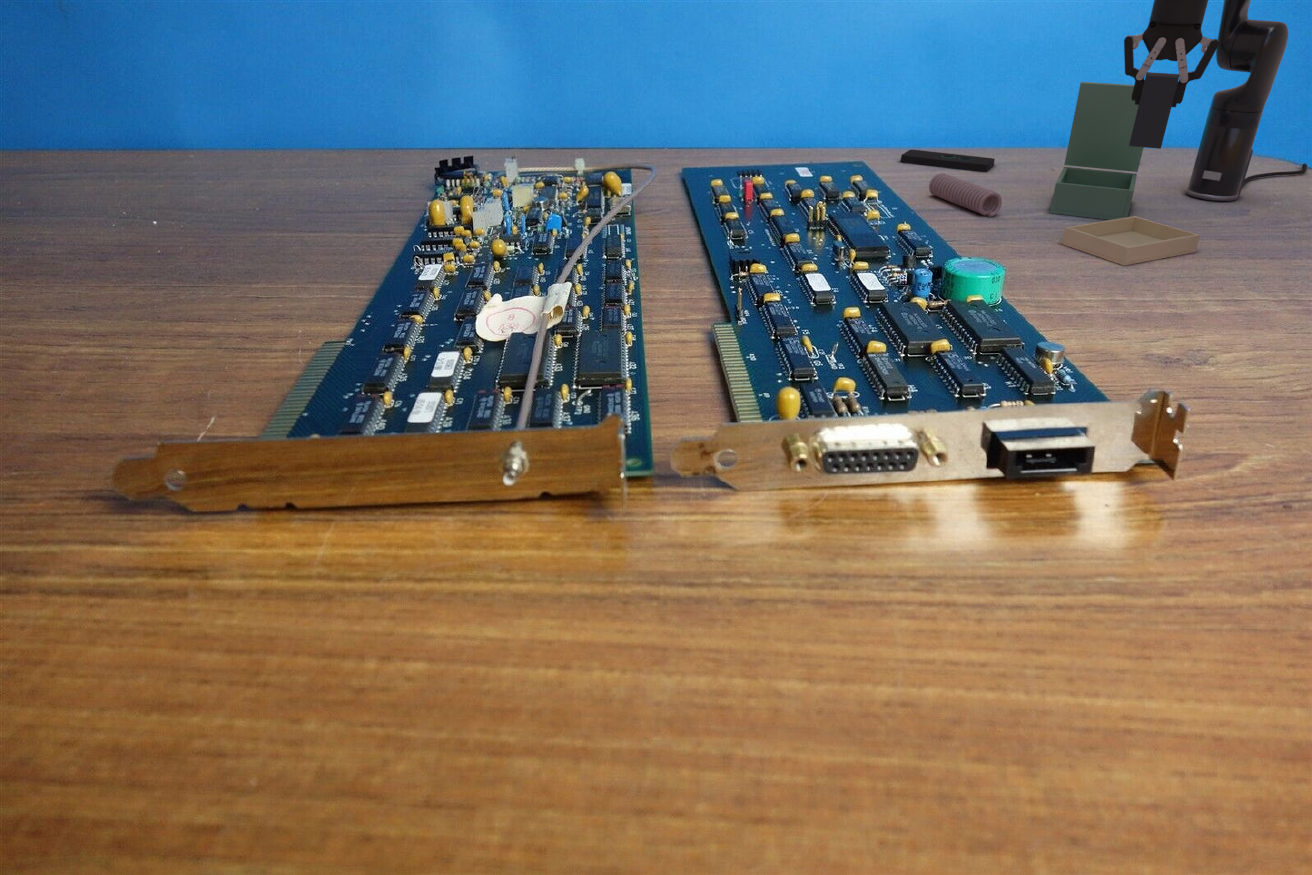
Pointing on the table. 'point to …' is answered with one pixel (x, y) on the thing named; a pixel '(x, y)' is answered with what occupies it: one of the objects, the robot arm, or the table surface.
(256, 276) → the table surface
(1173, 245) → the tray
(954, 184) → the coil
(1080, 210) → the chest
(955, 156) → the smart home device
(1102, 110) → the lid
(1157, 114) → the block
